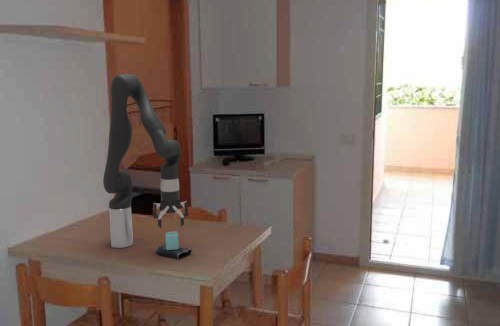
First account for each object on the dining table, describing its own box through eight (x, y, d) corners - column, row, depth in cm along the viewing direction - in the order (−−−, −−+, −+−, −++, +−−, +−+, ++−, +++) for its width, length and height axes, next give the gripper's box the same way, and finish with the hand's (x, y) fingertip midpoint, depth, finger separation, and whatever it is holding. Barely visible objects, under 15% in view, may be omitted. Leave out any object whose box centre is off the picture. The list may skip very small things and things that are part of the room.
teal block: (166, 250, 205) (165, 236, 203) (165, 246, 209) (165, 232, 208) (178, 248, 206) (178, 235, 205) (177, 245, 210) (177, 231, 209)
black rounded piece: (193, 257, 208) (166, 246, 216) (192, 245, 207) (166, 235, 214) (178, 267, 201) (151, 255, 209) (177, 255, 199) (150, 244, 207)
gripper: (152, 191, 198) (153, 230, 201) (188, 190, 201) (189, 228, 204) (152, 187, 206) (153, 225, 209) (186, 185, 209) (187, 223, 212)
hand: (171, 226), depth 207 cm, fingers open, 8 cm apart
